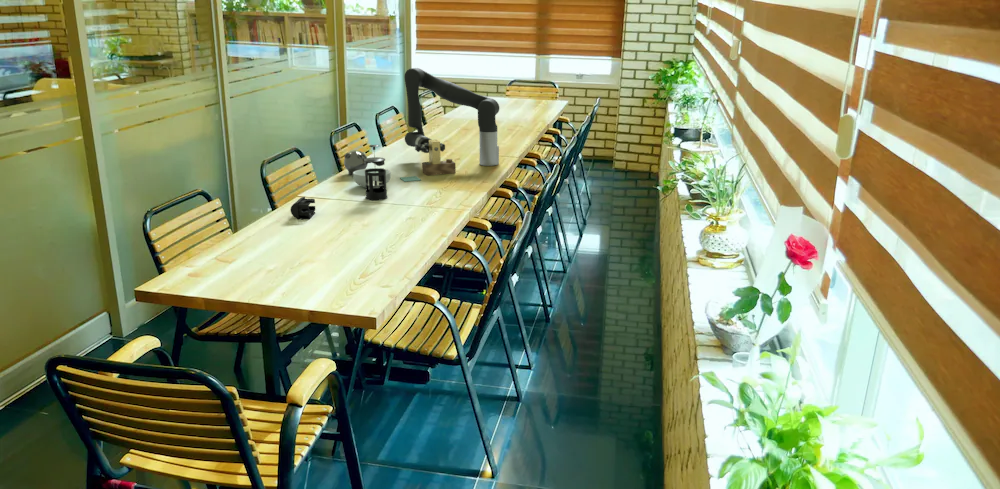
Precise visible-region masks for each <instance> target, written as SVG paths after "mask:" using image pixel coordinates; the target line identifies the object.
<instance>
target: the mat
mask: <svg viewBox="0 0 1000 489" xmlns="http://www.w3.org/2000/svg"><path fill="white" fill-rule="evenodd" d="M399 179H400V180H401V181H403V182H404V183H407V182H410V183H411V182H418V181H419V182H420V181H422V179H421V178H420V177H418V176H416V175H414V176H413V175H412V176H402V177H399Z"/></svg>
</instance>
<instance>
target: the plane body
mask: <svg viewBox="0 0 1000 489" xmlns="http://www.w3.org/2000/svg"><path fill="white" fill-rule="evenodd" d="M421 168H422V172H421V173H422V174H424V175H425V176H435V175H437V176H438V175H446V174H456V172H457V171H456V168H457V167H456V162H454V161H453V159H452V158H447V159H446V160H441V164H434V165H433V164H431V163H429V161H424V162H421Z"/></svg>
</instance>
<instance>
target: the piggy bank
mask: <svg viewBox="0 0 1000 489" xmlns="http://www.w3.org/2000/svg"><path fill="white" fill-rule="evenodd" d="M367 156H368V155H366V153H365V152H363V151H361V150H357V149H356V150H352V151H349V152H346V153H345V154H344V160H343V164H344V168H345V169H346V170H347V172H348V176H353V172H354V171H357V170H361V169H367V167H368V164H369V163H367V164H366V165H365V161H364V159H366V158H368V157H367Z"/></svg>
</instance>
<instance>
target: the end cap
mask: <svg viewBox="0 0 1000 489" xmlns="http://www.w3.org/2000/svg"><path fill="white" fill-rule="evenodd" d="M315 203H316V201H315V198H306V196H302V197H300V198H299V199H298V200H296V201H295V202H294V203H293V204H292V205H291V206H290V214H291V215H292V216H293V217H294V218H295V219H298V220H311V218H312V217H313V216H315V214H316V212H315V211H316V206H315V205H312V204H315ZM310 204H311V205H310Z"/></svg>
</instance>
